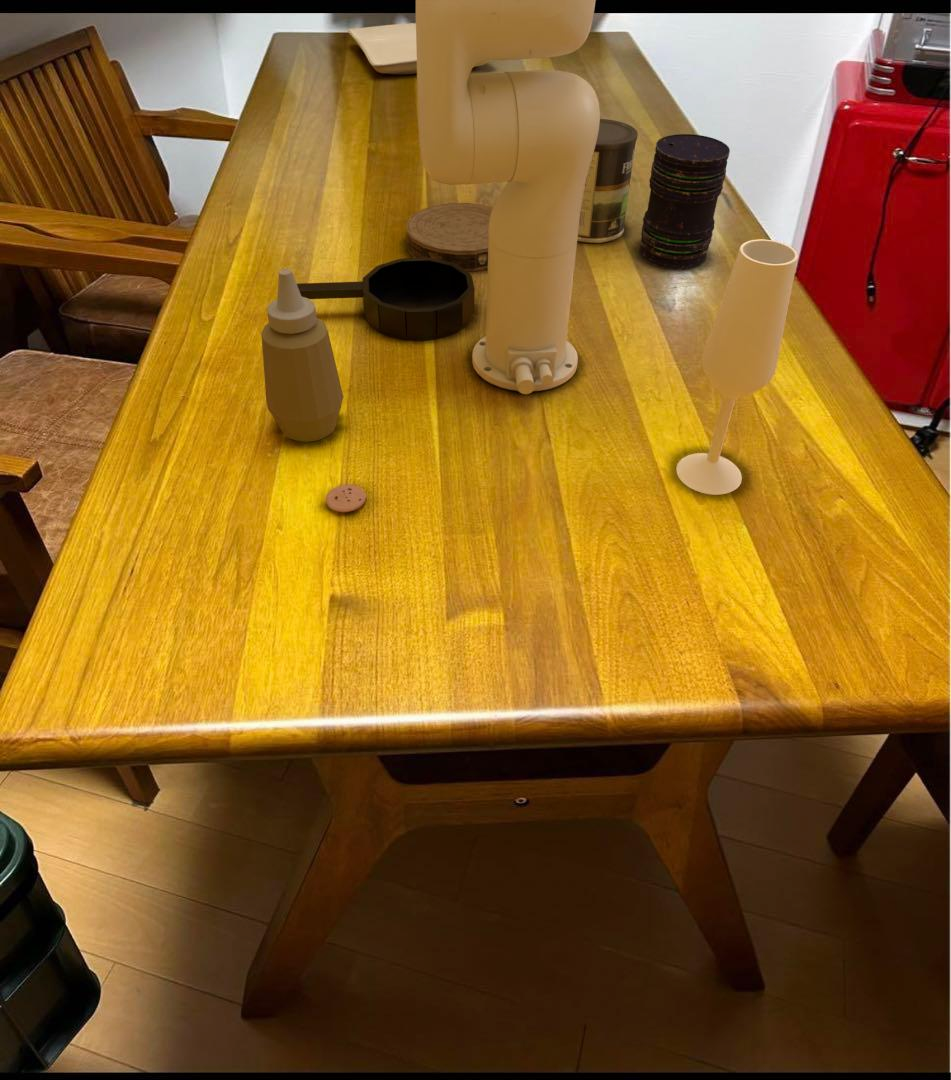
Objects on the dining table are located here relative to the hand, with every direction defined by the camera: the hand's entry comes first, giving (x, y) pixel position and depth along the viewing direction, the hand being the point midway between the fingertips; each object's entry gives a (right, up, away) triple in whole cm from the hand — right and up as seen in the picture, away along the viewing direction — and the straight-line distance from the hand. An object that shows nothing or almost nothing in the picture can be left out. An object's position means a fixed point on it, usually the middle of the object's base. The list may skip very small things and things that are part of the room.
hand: (454, 110), depth 122 cm
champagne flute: (+27, -55, -35) cm, 71 cm away
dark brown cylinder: (+32, -21, 0) cm, 38 cm away
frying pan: (-9, -33, -13) cm, 37 cm away
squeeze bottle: (-15, -50, -30) cm, 61 cm away
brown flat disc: (+1, -19, +1) cm, 19 cm away
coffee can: (+20, -15, +6) cm, 26 cm away
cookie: (-10, -58, -39) cm, 71 cm away
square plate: (-9, +45, +66) cm, 81 cm away
